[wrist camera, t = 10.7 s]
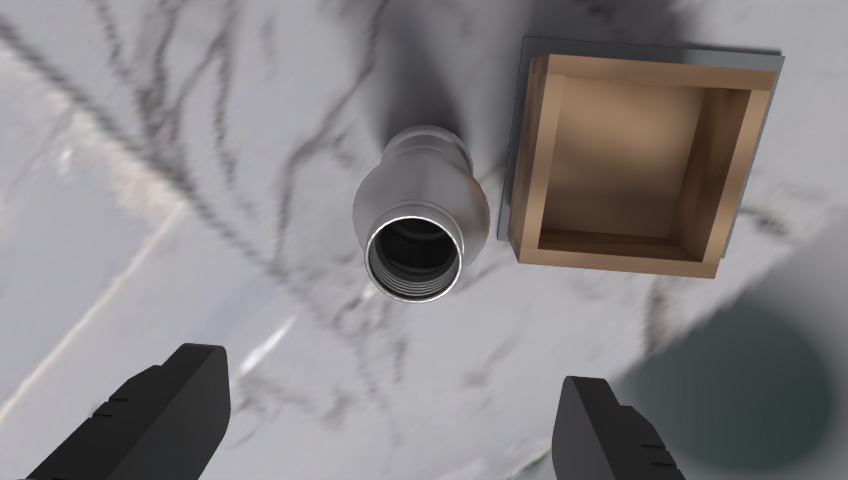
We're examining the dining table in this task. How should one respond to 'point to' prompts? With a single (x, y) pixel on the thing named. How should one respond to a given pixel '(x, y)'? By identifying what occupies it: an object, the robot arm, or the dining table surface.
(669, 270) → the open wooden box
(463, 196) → the plastic bottle
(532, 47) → the gray mat
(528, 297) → the dining table surface
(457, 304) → the dining table surface
